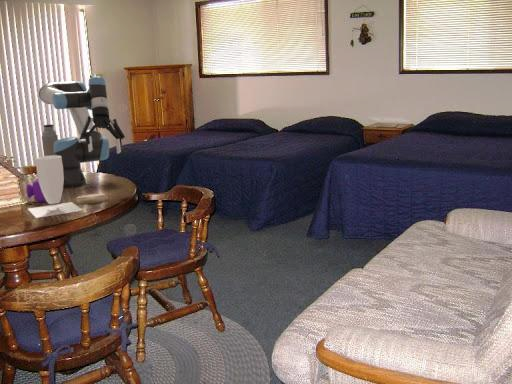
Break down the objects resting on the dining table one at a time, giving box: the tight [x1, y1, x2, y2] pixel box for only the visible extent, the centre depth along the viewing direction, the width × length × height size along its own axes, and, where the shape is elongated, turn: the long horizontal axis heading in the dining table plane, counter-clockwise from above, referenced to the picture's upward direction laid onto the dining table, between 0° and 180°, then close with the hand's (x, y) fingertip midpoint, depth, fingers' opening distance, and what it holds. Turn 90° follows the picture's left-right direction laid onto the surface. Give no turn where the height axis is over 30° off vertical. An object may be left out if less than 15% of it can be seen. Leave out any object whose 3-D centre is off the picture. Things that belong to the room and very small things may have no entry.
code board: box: [27, 201, 84, 219], centre depth 227 cm, size 18×18×1 cm
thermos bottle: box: [41, 124, 59, 156], centre depth 299 cm, size 8×8×28 cm
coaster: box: [75, 193, 108, 205], centre depth 241 cm, size 13×13×2 cm
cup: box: [35, 155, 64, 205], centre depth 225 cm, size 10×10×22 cm
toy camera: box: [25, 178, 48, 203], centre depth 244 cm, size 11×14×10 cm
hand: (105, 152), depth 253 cm, fingers open, 13 cm apart
